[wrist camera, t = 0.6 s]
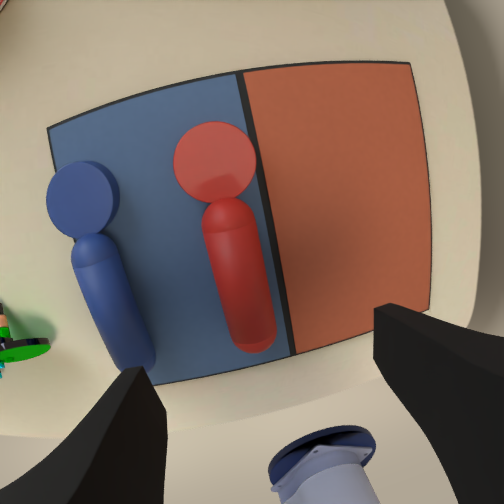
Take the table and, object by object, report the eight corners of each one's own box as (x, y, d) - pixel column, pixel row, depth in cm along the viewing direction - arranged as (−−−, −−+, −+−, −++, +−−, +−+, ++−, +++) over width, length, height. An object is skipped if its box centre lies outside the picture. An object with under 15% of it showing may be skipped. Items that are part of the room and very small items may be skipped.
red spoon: (168, 133, 13) (160, 129, 11) (244, 116, 14) (251, 109, 11) (223, 343, 17) (226, 370, 15) (285, 328, 17) (296, 352, 15)
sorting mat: (426, 307, 19) (430, 310, 19) (137, 384, 18) (136, 389, 17) (406, 63, 14) (411, 61, 14) (49, 128, 13) (45, 127, 12)
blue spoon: (49, 173, 13) (25, 178, 11) (110, 151, 13) (93, 151, 11) (118, 364, 17) (110, 389, 14) (174, 354, 17) (171, 381, 15)
